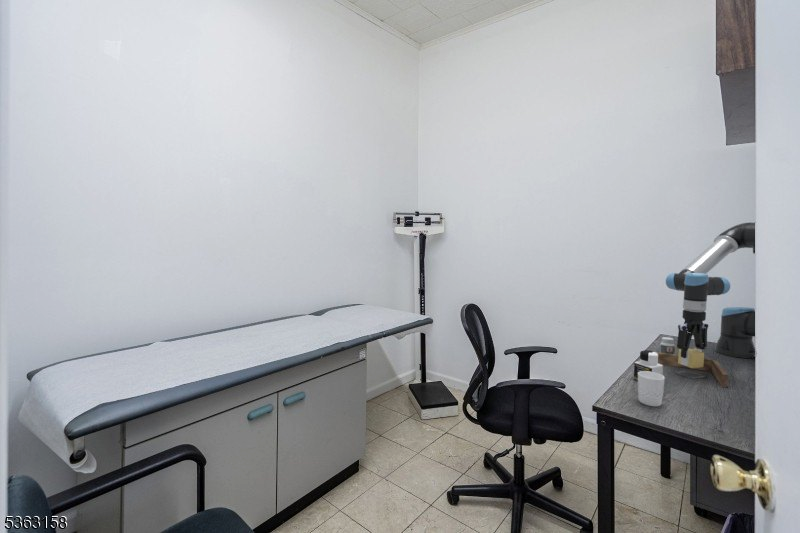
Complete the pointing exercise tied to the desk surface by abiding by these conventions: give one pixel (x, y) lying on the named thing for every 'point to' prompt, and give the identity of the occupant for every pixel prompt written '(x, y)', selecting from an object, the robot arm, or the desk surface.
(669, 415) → the desk surface
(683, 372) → the mat
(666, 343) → the pill bottle
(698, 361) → the cube
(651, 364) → the medicine bottle
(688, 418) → the desk surface
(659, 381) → the white cup
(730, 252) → the robot arm
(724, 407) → the desk surface
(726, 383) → the angled wooden barrier
